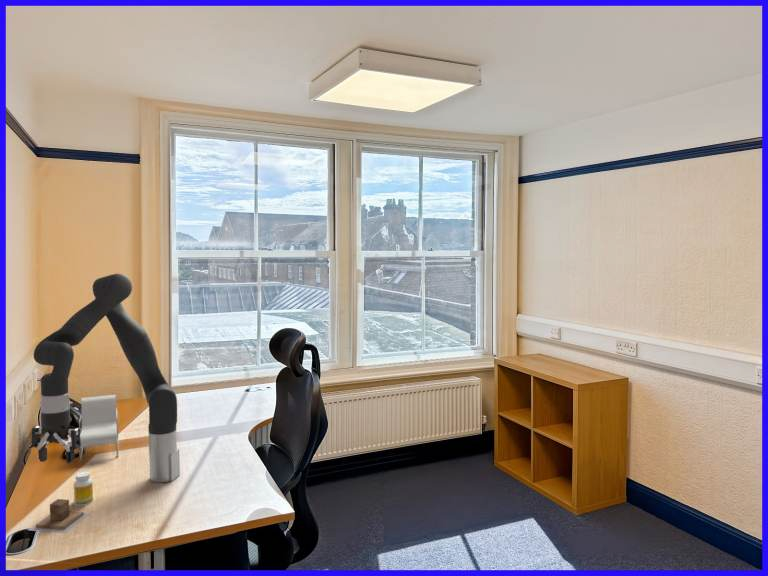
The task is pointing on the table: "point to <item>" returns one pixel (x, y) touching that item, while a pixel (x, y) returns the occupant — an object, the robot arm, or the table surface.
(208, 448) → the table surface
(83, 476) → the supplement bottle
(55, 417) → the robot arm
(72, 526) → the mat
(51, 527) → the lid
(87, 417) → the chair
